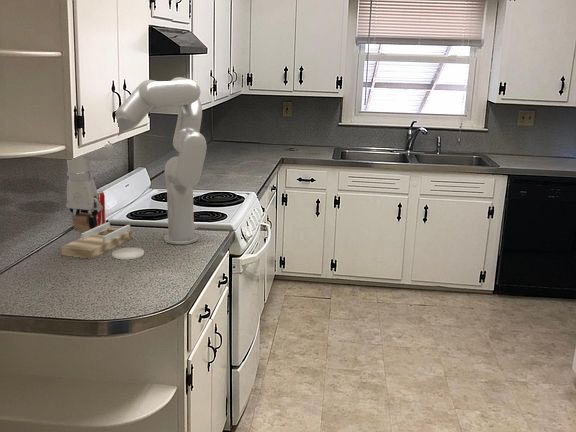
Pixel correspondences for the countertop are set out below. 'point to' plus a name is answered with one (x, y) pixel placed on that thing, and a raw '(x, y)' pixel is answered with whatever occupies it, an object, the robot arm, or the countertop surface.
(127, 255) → the cream plate
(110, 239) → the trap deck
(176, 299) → the countertop surface
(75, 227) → the walnut block
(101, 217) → the beverage can
